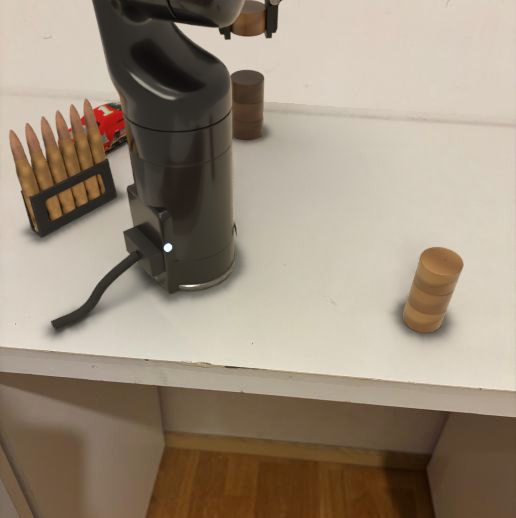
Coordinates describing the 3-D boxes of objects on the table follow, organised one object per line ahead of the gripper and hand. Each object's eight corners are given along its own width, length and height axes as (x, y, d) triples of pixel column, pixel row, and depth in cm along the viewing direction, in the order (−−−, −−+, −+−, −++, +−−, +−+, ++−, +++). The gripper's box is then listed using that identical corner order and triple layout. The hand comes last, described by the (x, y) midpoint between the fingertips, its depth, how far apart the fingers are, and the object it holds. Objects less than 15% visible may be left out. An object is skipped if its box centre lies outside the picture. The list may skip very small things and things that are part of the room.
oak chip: (243, 39, 67) (243, 16, 65) (221, 27, 69) (221, 4, 67) (273, 31, 69) (273, 8, 67) (250, 19, 71) (251, -4, 69)
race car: (78, 171, 72) (70, 141, 69) (51, 155, 74) (43, 126, 71) (155, 130, 79) (151, 101, 76) (128, 117, 81) (123, 88, 78)
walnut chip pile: (243, 143, 77) (243, 88, 71) (224, 130, 79) (223, 75, 73) (269, 133, 79) (271, 79, 73) (249, 120, 81) (250, 66, 75)
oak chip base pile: (423, 339, 55) (444, 281, 49) (394, 315, 57) (411, 257, 51) (449, 321, 56) (472, 263, 50) (420, 299, 58) (439, 241, 52)
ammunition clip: (108, 190, 69) (87, 92, 60) (117, 196, 69) (98, 98, 59) (31, 230, 64) (-4, 130, 55) (41, 237, 63) (7, 137, 54)
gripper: (177, -138, 53) (190, 52, 66) (327, -139, 55) (311, 47, 68) (174, -154, 58) (187, 26, 71) (311, -155, 60) (299, 22, 73)
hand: (247, 35), depth 70 cm, fingers closed on oak chip, 4 cm apart
